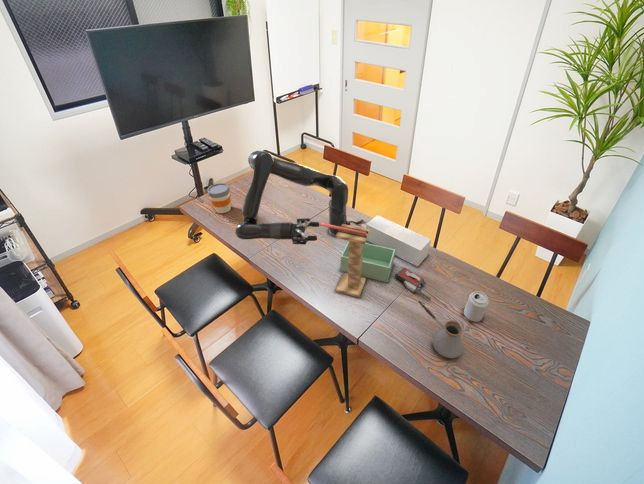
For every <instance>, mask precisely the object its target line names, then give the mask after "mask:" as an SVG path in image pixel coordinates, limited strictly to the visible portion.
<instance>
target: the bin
mask: <svg viewBox="0 0 644 484" xmlns="http://www.w3.org/2000/svg"><path fill="white" fill-rule="evenodd" d="M394 254H395V249H390V248H386V247H381V246H377V245H374V244H372V243H369V242H368V243H367V242H366V243H365V244H363V260H362V276H361V277H363V278H366V279H367V278H368V279H372V280H376V281H379V282H384V283H389V279H390V276H391V273H392V269H393V267H394V262H395V261H394V260H395V255H394ZM348 259H349V241H348V240H347V243H346V245H345V247H344V249H343V251H342V253H341V256H340V272H343V273H347V274H348Z"/></svg>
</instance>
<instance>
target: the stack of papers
mask: <svg viewBox="0 0 644 484" xmlns="http://www.w3.org/2000/svg"><path fill="white" fill-rule="evenodd" d="M365 229H370V233H369V235H368V238H367V240H366V242H368V243H369V244H372V245H377V246H381V247H386V248H390V249H395V254H394V256H395V257H398V258H400V259H401V260H403V261H406V262H408V263H410V264H411V265H413V266H415V267H419V266H420V265H421V264H422V262H423V261H424V260H425V259H426V258H427V257H428V255H429V252H430V247H431V242H432V239H431V238H429V237H427V236H425V235H422V234H420V233H418V232H416V231H413V230H411V229H409V228H407V227H405V226H403V225H400V224H398V223H396V222H394V221H391V220H390V219H388V218H385V217H383V216H380V215H378V214H377V215H376V216H374V217H373V218H372V219H371V220H370V221H368V222H367V223H366V224H365Z"/></svg>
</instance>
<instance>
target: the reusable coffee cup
mask: <svg viewBox="0 0 644 484" xmlns="http://www.w3.org/2000/svg"><path fill="white" fill-rule="evenodd" d="M206 190H207V195H208V197H209V200H210V202H211V205H212V206H213V208H214V211H215V212H216V213H217V214H225V213H228V212H230V211H231V209H232V208H231V203H232V198H231V193H230V191H231V190H230V187H229V185H228V184H227V183H224V182H218V183H214V184H211V185H210V186H208V187H207V189H206Z"/></svg>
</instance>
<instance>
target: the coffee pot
mask: <svg viewBox="0 0 644 484" xmlns="http://www.w3.org/2000/svg"><path fill="white" fill-rule="evenodd" d="M418 304H419V305H420V306H421V308H423V309H424V311H425V312H426V314H428V315H429V316H430V317H431V318H432V319H433V320H434V321H435V322H436V323H437V324H438V325H439V326H440V327H441V328H442V329H439V330H438V331H437V332H435V333H434V335H433V336H432V339H431V341H432V346H433V348H434V350H435V351H436V353H437V354H438V355H440V356H442V357H444V358H446V359H456V358H458V357H460V356H461V355H462V354H463V352H464V342H463V339H462V336H461V335H462V333H463V327H462V326H461V323H460V322H458V321H456V320H446V322H444V323H442V322H441V321H440V320H439V319H437V317H436V316H435V314H433V312H431V310H430V309H429V308H428V307H427V306H425V304H423V303H422V301H421V300H419V301H417V302H416V305H418Z"/></svg>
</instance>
